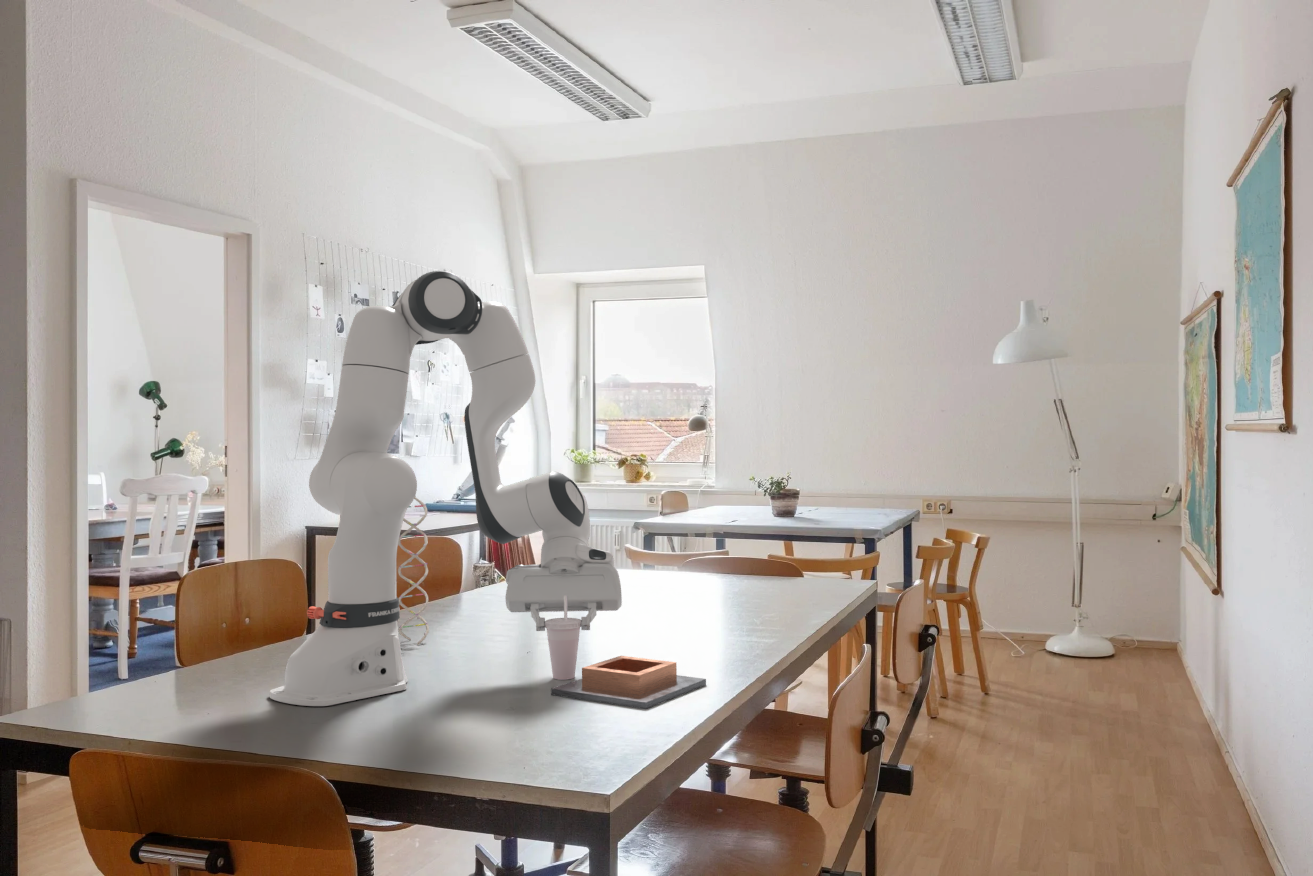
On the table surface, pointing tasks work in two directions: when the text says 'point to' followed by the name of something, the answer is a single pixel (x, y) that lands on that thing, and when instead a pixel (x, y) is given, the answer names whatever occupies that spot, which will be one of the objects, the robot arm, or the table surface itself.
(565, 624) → the smoothie
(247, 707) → the table surface
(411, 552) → the dna model
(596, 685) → the mount
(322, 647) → the robot arm
